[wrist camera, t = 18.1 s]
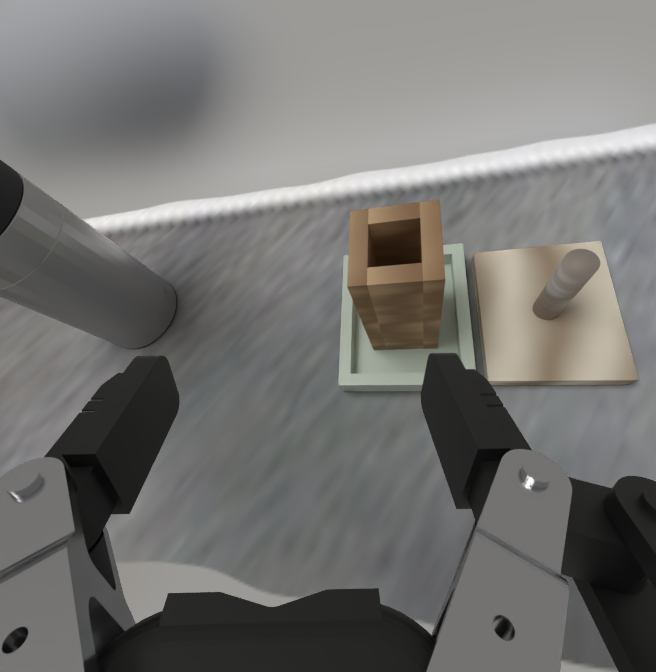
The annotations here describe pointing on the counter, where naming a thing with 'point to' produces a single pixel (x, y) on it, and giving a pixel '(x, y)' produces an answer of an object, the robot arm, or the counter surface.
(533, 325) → the stake board
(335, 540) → the counter surface
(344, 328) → the tray
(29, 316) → the counter surface
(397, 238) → the sleeve
